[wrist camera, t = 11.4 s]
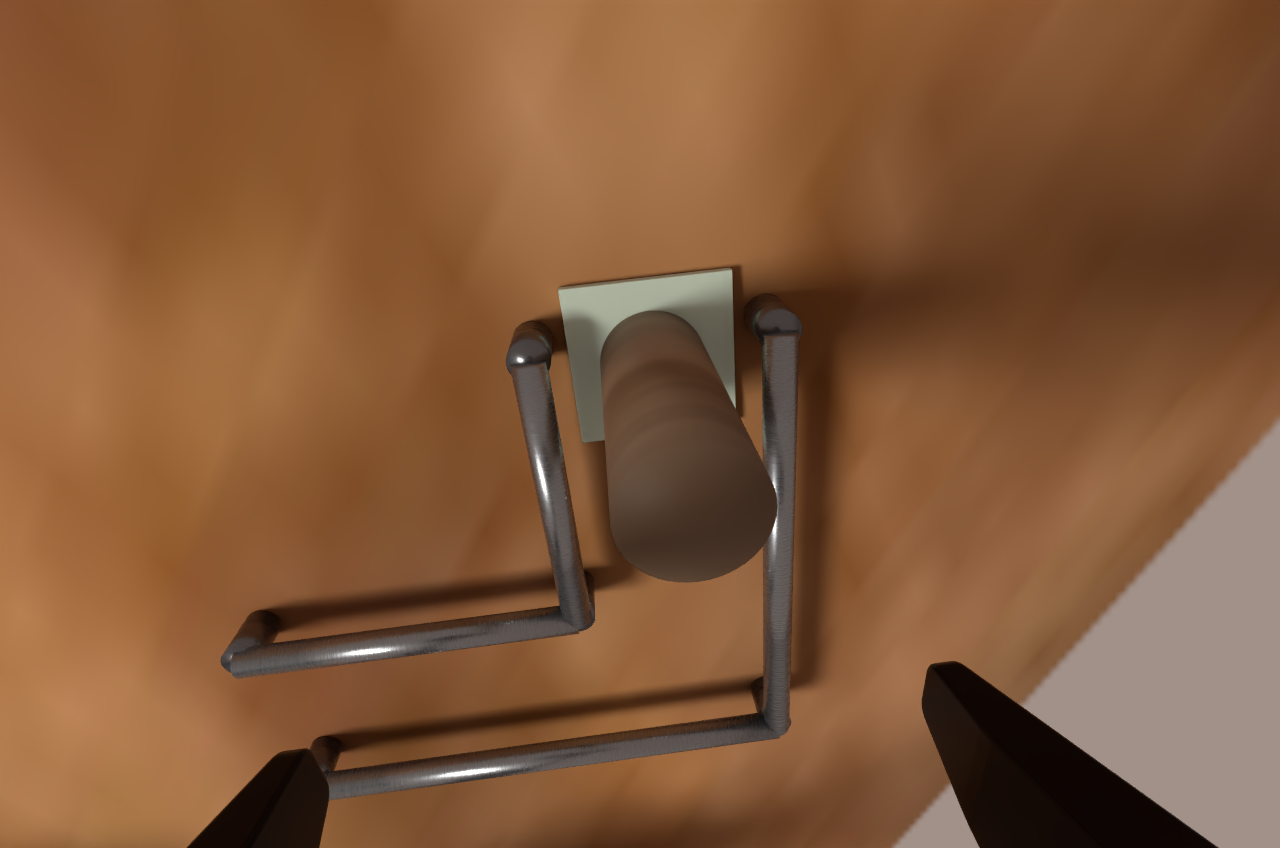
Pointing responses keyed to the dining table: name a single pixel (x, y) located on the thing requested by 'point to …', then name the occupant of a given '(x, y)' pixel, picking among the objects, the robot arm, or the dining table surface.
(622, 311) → the sage coaster
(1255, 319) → the dining table surface
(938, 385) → the dining table surface
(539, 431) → the rails leg
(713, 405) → the walnut peg
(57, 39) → the dining table surface
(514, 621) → the rail leg
